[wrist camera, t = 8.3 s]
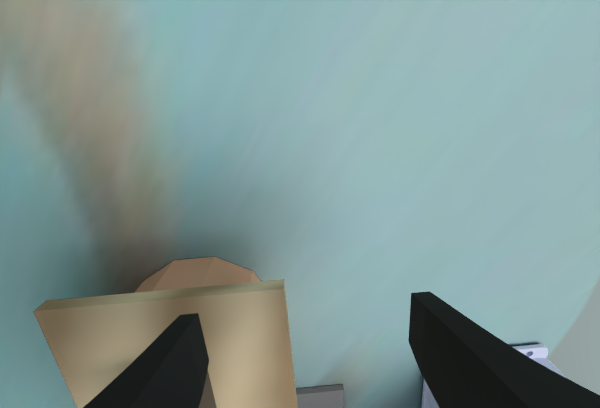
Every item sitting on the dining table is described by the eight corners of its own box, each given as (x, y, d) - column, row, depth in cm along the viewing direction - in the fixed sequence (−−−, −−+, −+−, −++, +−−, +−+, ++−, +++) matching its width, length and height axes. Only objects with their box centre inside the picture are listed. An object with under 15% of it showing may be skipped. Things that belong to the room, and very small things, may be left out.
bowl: (270, 251, 19) (265, 293, 15) (284, 366, 23) (283, 426, 18) (118, 265, 19) (70, 311, 15) (154, 378, 23) (124, 442, 18)
